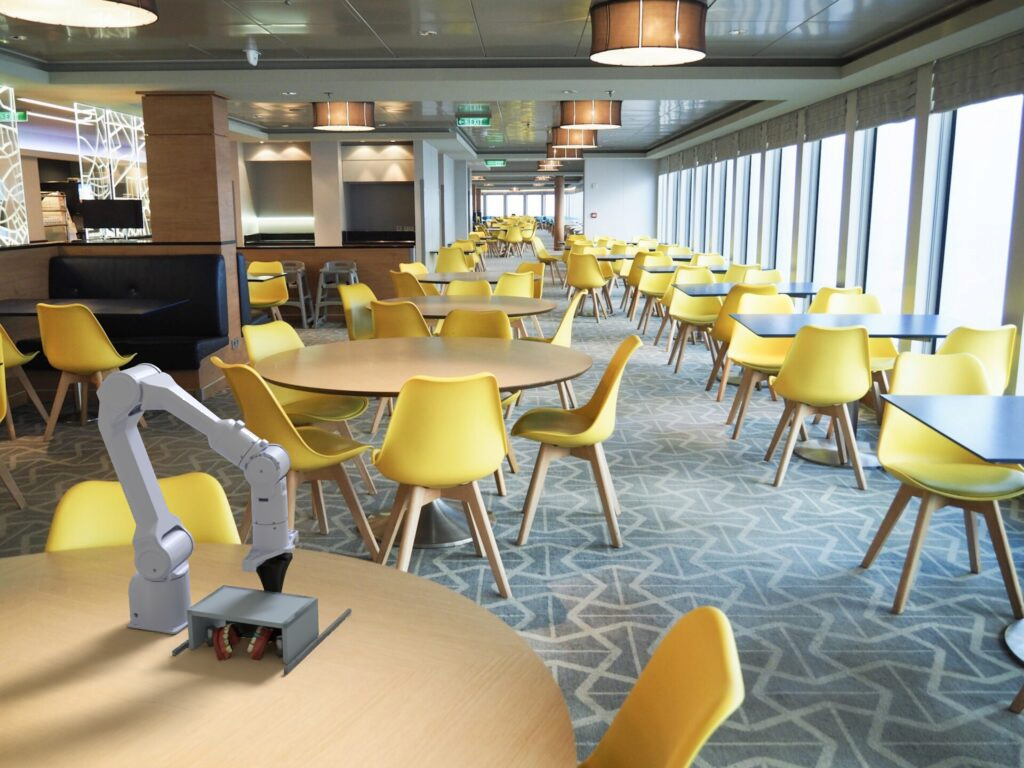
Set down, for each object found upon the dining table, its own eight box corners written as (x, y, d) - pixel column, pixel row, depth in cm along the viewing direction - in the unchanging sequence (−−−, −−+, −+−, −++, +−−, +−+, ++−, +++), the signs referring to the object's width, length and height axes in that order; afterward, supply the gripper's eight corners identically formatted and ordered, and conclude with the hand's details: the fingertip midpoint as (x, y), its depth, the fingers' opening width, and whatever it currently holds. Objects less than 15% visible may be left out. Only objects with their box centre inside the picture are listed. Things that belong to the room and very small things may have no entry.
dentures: (266, 633, 135) (208, 633, 135) (267, 661, 136) (210, 662, 136) (277, 616, 141) (221, 616, 141) (278, 644, 142) (223, 644, 142)
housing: (189, 648, 139) (186, 609, 138) (225, 621, 149) (223, 585, 147) (288, 664, 134) (286, 624, 133) (318, 635, 144) (317, 597, 143)
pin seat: (172, 655, 137) (171, 638, 136) (249, 598, 158) (248, 583, 157) (287, 674, 132) (286, 656, 131) (351, 613, 153) (351, 597, 152)
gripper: (268, 536, 136) (272, 618, 138) (313, 508, 150) (315, 582, 152) (228, 532, 138) (232, 612, 140) (276, 504, 152) (279, 577, 154)
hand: (273, 596), depth 146 cm, fingers closed
